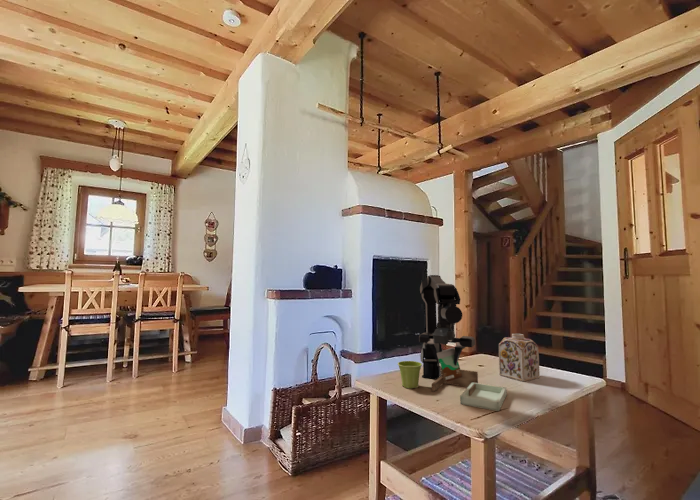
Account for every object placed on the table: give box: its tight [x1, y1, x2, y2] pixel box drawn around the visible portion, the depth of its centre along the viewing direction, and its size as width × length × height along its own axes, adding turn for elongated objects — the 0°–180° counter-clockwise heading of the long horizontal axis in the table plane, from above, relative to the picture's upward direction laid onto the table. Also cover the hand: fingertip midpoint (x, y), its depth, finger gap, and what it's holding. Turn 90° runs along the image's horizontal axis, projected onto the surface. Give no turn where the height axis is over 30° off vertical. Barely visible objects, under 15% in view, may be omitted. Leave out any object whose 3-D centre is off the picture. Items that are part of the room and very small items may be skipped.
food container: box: [437, 347, 462, 382], centre depth 125 cm, size 12×6×10 cm, turn 156°
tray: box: [459, 382, 508, 412], centre depth 121 cm, size 12×18×3 cm, turn 149°
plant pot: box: [397, 360, 423, 389], centre depth 135 cm, size 9×9×9 cm
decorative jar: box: [498, 333, 541, 383], centre depth 149 cm, size 12×12×18 cm
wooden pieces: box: [431, 367, 479, 396], centre depth 131 cm, size 14×13×6 cm
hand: (446, 364), depth 123 cm, fingers closed on food container, 6 cm apart
